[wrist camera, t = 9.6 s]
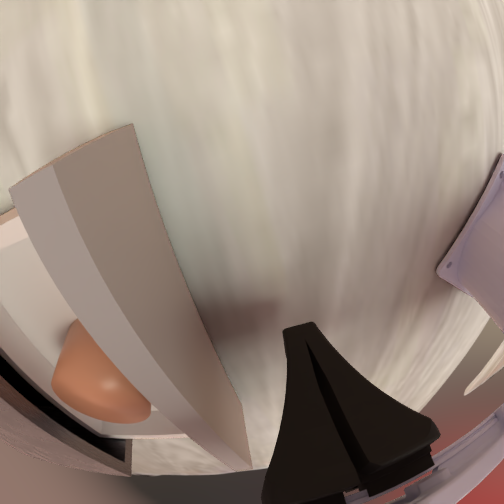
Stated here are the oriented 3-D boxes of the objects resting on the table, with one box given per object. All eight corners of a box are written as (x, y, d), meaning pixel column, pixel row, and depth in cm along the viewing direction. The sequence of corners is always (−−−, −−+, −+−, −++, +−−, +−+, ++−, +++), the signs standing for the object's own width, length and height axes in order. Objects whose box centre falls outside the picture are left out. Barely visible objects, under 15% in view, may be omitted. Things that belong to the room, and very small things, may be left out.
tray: (109, 415, 18) (104, 471, 14) (-44, 220, 8) (-102, 282, 3) (241, 403, 19) (253, 469, 14) (133, 123, 8) (52, 164, 3)
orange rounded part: (68, 301, 11) (44, 359, 8) (164, 331, 12) (160, 393, 10) (70, 357, 13) (57, 406, 10) (146, 380, 15) (143, 430, 12)
